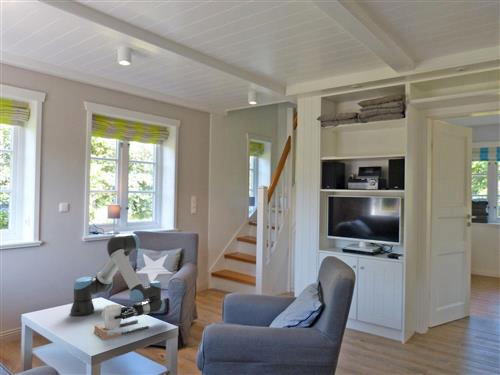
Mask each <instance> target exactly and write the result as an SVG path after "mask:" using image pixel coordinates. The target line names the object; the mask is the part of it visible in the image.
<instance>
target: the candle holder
mask: <svg viewBox="0 0 500 375" xmlns="http://www.w3.org/2000/svg"><path fill="white" fill-rule="evenodd" d="M122 307H123V306H122V305H121V304H114V303H113V304H108V305H105V306H104V307H103V310H104V311H103V312H104V315H105V316H104V327H105V328H106V329H108V330H116V329H119V328H121V327H120V323H121V321H122V319H116V320H112V321H108V316H111V315H117V314H120V313H121V308H122Z"/></svg>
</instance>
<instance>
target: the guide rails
mask: <svg viewBox="0 0 500 375" xmlns="http://www.w3.org/2000/svg"><path fill="white" fill-rule="evenodd" d="M138 322H139V320H138V319H132V320H129V321H124V322H120V327H119V328H121V327H123V326H124V327H125V326H129V325H133V324H136V323H138ZM149 328H150V326H149V325H144V326H141V327H137V328H133V329H129V330H125V331H121V332H120V333H121V336H126V335H129V334H130V335H131V334H133V333H137V332H142V331H145V330H148V329H149Z"/></svg>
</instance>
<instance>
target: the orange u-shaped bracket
mask: <svg viewBox="0 0 500 375" xmlns="http://www.w3.org/2000/svg"><path fill="white" fill-rule="evenodd" d="M93 327H94V329H93V330H94V333H95V334H97V336H100V337H101V338H102V339H103V340H106V341H107V340H111V339H114V338H119V337H121V336H122V335H121V332H117V333H113V334H109V332H108V330H109V329H106V328H105V326H102V327H101V326H100V325H99V324H94V326H93Z"/></svg>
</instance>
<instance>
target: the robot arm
mask: <svg viewBox="0 0 500 375" xmlns="http://www.w3.org/2000/svg"><path fill="white" fill-rule="evenodd" d="M139 247H140V239H139V236H138V235H137V234H135V233H130V232H129V233H123V234H116V235H115V234H114V235H113V236H111V237H110V238H109V239H108V241H107V245H106V250H107V254H108V256H109V259H108V261H107V262H106V264H105V265H104V267H103V269H102V270H101V271H99V272H97V274H96V275H95V276H94V277H91V276H83V277H79V278H77V279H75V281H74V283H73V302H72V305H71V308H70V310H69V311H70V313H69V314H70V315H71V316H74V317H84V316H89V315H91V314H94V313H95V306H94V302H93V296H95V295H98V294H103V293H107V292H109V291H110V290H111V289H112V288H113V285H114V284H113V283H114V280H113V279H114V278H113V277H114V276H115V274H116V272H117V270H118V271H119V272H120V274H121V277H122V278H123V279H124V282H125V284H126V285H127V287H128V289H129V290H130V292H129V300H130V301H131V302H132V303H134V304H133V305H132V306H127V305H126V306H122V308H121V313H120V314H117V315H111V316H108V321H112V320H116V319H121V320H126V319H129V318H132V317H139V316H143V315H144V316H146V315H147V314H153V313H157V312H160V311H163V310H164V309H165V308H166V303H165V299H164V298H162V283H161V281H159V280H152V281H150V282H149V283H148V285H147V286H144V285H143V284H142V282H141V281H140V279H139V277H138V275H137V273H136V272H135V270H134V268H133V266H132V264H131V263H130V261H129V259H128V258H127V257H129V256H130V255H131V254H132V253H133V251H136V250H138V249H139ZM145 300H147V301H145ZM101 318H105V315H104V311H102V312H101Z"/></svg>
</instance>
